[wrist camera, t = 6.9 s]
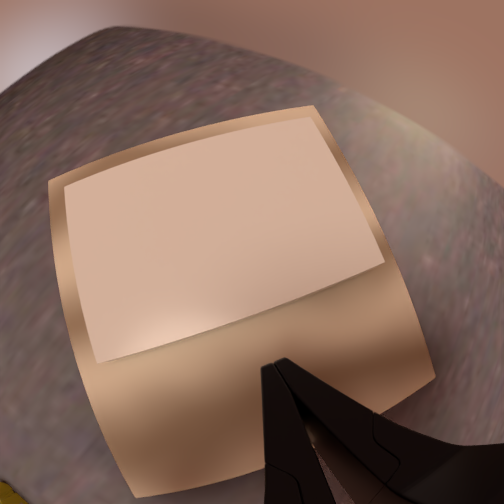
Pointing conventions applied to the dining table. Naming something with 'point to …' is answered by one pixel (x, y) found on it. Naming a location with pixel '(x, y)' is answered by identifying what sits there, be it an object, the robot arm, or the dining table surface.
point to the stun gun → (9, 495)
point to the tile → (212, 235)
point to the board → (239, 351)
